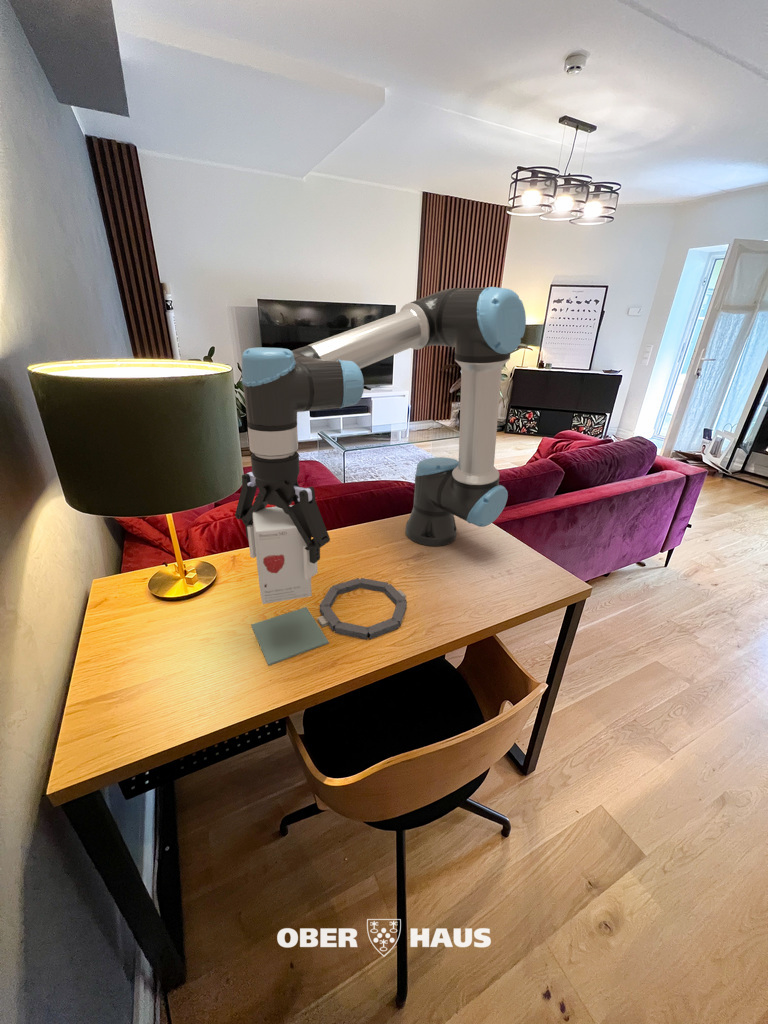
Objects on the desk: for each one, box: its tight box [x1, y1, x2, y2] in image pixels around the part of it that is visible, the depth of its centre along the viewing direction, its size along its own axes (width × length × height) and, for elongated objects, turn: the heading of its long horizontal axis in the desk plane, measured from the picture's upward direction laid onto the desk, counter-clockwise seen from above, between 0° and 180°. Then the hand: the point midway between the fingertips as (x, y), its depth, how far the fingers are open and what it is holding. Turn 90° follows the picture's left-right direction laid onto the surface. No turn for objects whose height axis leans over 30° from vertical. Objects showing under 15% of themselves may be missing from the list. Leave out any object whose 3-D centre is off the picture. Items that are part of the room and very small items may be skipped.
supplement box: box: [253, 504, 313, 605], centre depth 74 cm, size 9×9×15 cm
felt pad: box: [250, 606, 330, 667], centre depth 82 cm, size 12×12×1 cm
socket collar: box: [316, 577, 408, 641], centre depth 90 cm, size 21×18×2 cm
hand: (283, 564), depth 75 cm, fingers closed on supplement box, 12 cm apart
